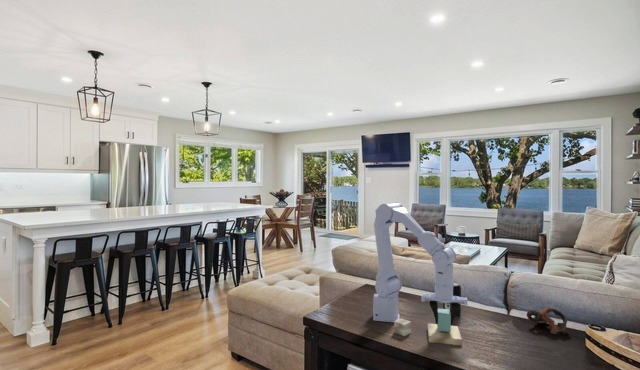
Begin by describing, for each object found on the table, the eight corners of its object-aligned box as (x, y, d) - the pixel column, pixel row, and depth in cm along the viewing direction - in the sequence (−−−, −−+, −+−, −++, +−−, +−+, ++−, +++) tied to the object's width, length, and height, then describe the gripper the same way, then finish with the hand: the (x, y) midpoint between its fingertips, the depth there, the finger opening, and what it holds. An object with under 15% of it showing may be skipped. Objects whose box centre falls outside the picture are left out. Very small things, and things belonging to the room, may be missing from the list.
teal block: (437, 330, 115) (438, 312, 115) (437, 325, 119) (437, 308, 119) (450, 331, 114) (450, 313, 114) (449, 326, 118) (449, 309, 118)
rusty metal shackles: (553, 324, 127) (564, 309, 123) (562, 345, 119) (574, 330, 115) (519, 313, 129) (529, 298, 125) (525, 334, 121) (536, 319, 117)
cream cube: (394, 332, 119) (394, 321, 119) (401, 329, 122) (401, 318, 122) (404, 336, 116) (404, 325, 116) (410, 333, 119) (410, 321, 119)
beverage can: (462, 317, 132) (462, 286, 132) (444, 315, 133) (444, 285, 133) (459, 310, 139) (459, 281, 138) (441, 309, 140) (442, 280, 140)
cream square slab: (429, 341, 112) (429, 335, 112) (427, 328, 122) (427, 323, 122) (461, 345, 110) (461, 339, 110) (457, 331, 120) (457, 326, 120)
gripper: (421, 285, 114) (421, 326, 114) (469, 289, 110) (468, 331, 110) (421, 279, 120) (421, 318, 121) (465, 282, 117) (465, 322, 117)
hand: (443, 323), depth 116 cm, fingers closed on teal block, 4 cm apart
